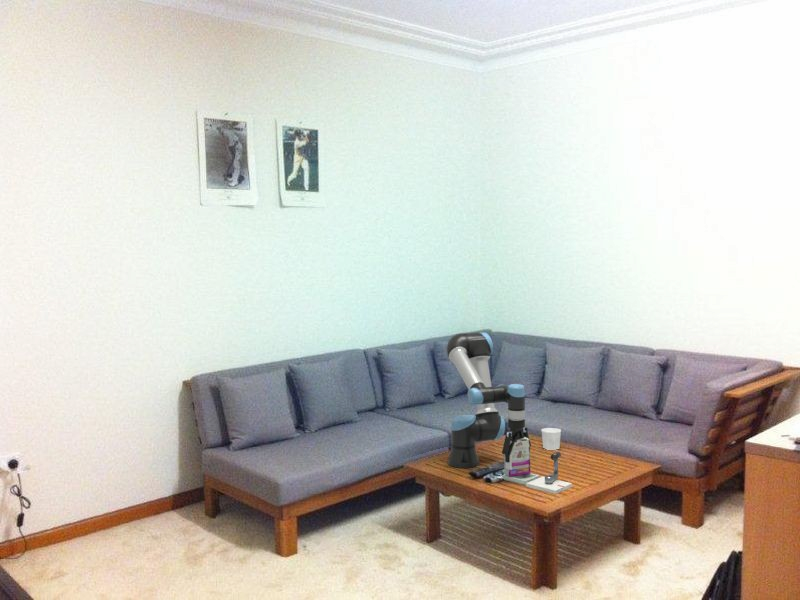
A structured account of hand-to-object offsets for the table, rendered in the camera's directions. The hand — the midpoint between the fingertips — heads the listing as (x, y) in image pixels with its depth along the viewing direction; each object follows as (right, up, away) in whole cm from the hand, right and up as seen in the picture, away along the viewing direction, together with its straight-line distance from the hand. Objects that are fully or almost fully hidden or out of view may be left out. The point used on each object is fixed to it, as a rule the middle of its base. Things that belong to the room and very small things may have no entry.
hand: (516, 466), depth 328 cm
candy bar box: (0, -4, 0) cm, 4 cm away
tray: (0, -6, 0) cm, 6 cm away
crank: (+15, -4, -9) cm, 17 cm away
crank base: (+12, -6, -12) cm, 18 cm away
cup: (+26, -3, +49) cm, 56 cm away
